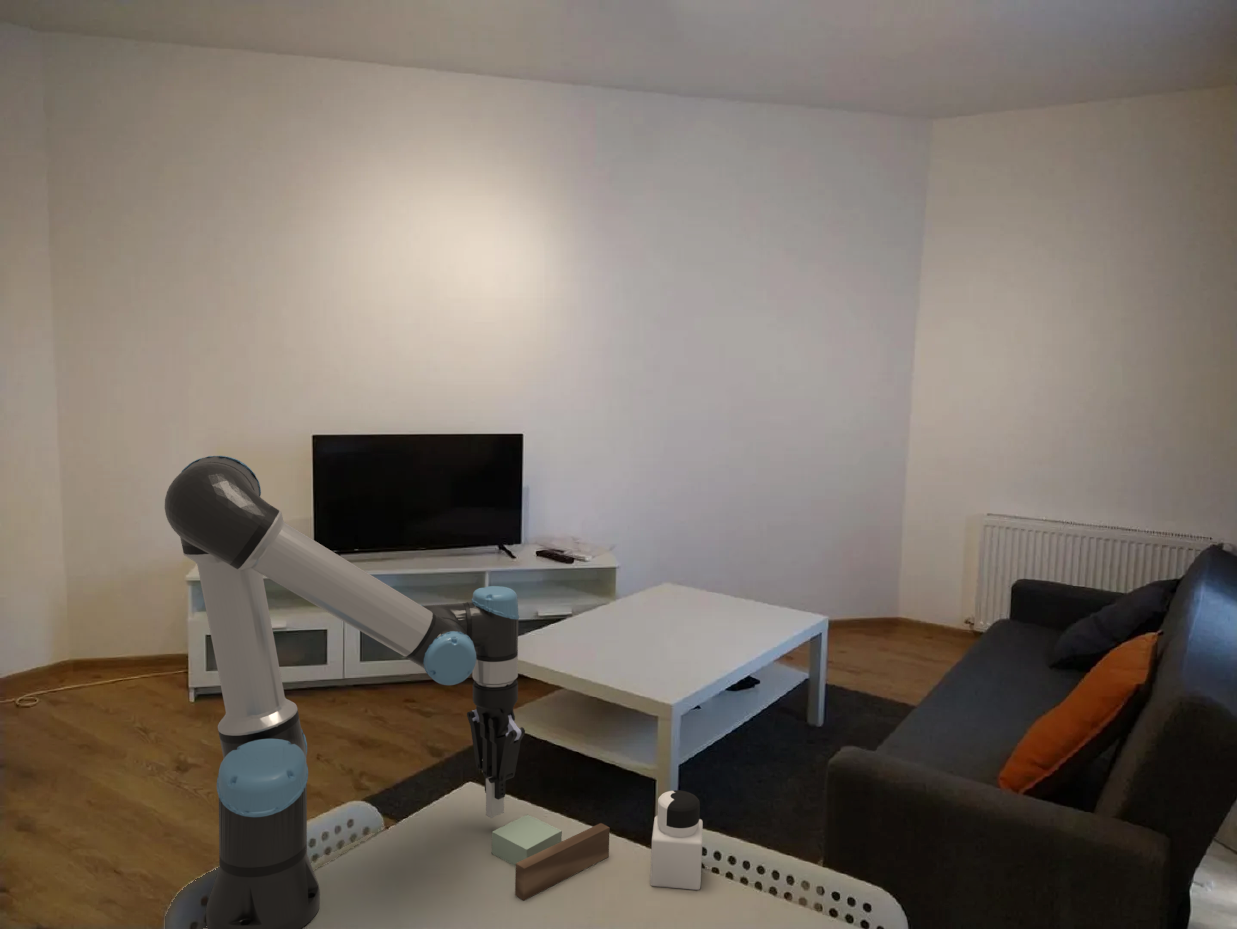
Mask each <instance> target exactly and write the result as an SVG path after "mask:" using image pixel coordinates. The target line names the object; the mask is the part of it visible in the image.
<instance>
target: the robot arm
mask: <svg viewBox="0 0 1237 929" xmlns="http://www.w3.org/2000/svg"><path fill="white" fill-rule="evenodd" d="M261 495H262V489H261V484H260V481H259V479H258V477H257V476H256V473H255V472H253V470H252V469H251V467H249V466H248V465H247V464H246V463H245V462H243V461H240V460H239V459H236V458H234V457H230V456H226V455H208V456H206V457H205V456H204V457H200V458H197V459H196V460H194V461H191V462H190V463H189V464H188V465H186V466H185V467H184V468H183V469H182V470H181V471H180V473H179V474H178V475H177V476H176V477H175V478H174V479H173V480H172V482H171V484H170V485H169V486H168V489H167V491H166V494H165V498H164V511H165V512H164V513H165V516H166V520H167V522H168V524H169V525H170V527H171V529H172V530H173V531H174V533H176V534H177V535H178V536H179V538H180V544H181V547H182V552H183V555H184V556H185V557H186V558H188V559H189V560H192V561H193V562H195V564H196V565H197V566H196V567H197V571H198V576H199V581H200V586H201V592H202V596H203V602H204V607H205V610H206V616H207V622H208V627H209V634H210V638H211V642H212V643H211V644H212V647H213V653H214V658H215V663H216V668H217V673H218V678H219V684H220V688H221V693H222V699H223V705H224V710H225V714H224V716H223V717H222V718H221V719H220V721H219V723H218V725H217V732H218V737H219V741H220V746H221V747H220V748H221V751H222V757H223V758H222V759H223V760H222V761H221V762H220V765H219V769H218V775H217V779H216V792H217V795H218V796H217V797H218V837H219V838H218V848H219V849H218V850H219V852H218V855H219V857H218V858H219V859H218V860H219V861H218V862H219V866H218V871H217V873H216V877H215V879H214V883H213V885H212V888H211V891H210V895H209V898H208V901H207V904H206V910H205V912H206V915H205V918H206V920H205V922H206V924H205V925H206V929H302V928H304V927H305V926H306V925H307V924H308V923H310V922H311V921H312V920H313V919H314V918H315V916H316V915H317V913H318V912H319V909H320V904H321V902H320V899H321V898H320V896H321V894H320V893H321V890H320V885H319V882H318V879H317V877H316V874H315V871H314V869H313V866H312V864H311V861H310V858H309V855H308V851H307V850H308V842H307V841H308V811H307V810H308V806H307V805H308V803H307V802H308V800H307V799H308V792H307V791H308V790H307V789H308V784H307V783H308V779H309V766H308V763H307V756H308V742H307V737H306V735H305V733H304V732H303V730H304V729H302V726H301V719H300V714H299V709H298V706H297V704H296V703H295V702H293V701H292V700H290V699H287V698H286V696H285V690H284V685H283V681H282V676H281V670H280V664H279V658H278V654H277V647H276V640H275V636H274V631H273V626H272V620H271V615H270V614H271V613H270V609H269V604H268V599H267V598H268V597H267V593H266V588H265V586H266V585H265V582H264V576H265V577H266V578H267V579H269V580H270V581H272V582H274V583H276V584H278V585H280V586H281V587H283V588H285V589H287V590H288V591H290V592H291V593H294V594H295V595H297V596H299V598H300V597H301V598H302V599H303V600H306V601H308V603H311V604H312V605H314V606H316V607H317V608H320V609H321V610H323V611H324V612H327V613H328V614H330V615H332V616H334V617H335V618H337V619H338V620H341V621H342V622H344V623H346V624H347V625H349V626H351V627H353V628H354V629H356V630H358V631H359V632H361V633H362V634H365V635H366V636H368V637H370V638H372V639H373V640H375V641H377V642H379V643H380V644H382V645H384V646H386V647H387V648H389V649H391V650H393V651H394V652H396V653H398V654H400V655H401V656H403V657H405V658H406V659H408V660H409V661H411V662H412V663H414V664H415V665H418V667H419V666H420V667H421V668H423V669H424V671H425V673H426V674H427V675H428V677H430V678H431V679H432V680H433V681H434V682H436V683H438V684H439V685H443V686H454V685H458V684H460V683H462V682H464V681H465V680H467V679H468V678H469V677H470V675H472V679H473V680H474V681H473V683H472V702H473V704H474V705H475V709H474V710H473V709H472V710H471V711H467V712H466V717H467V719H468V723H469V726H470V731H471V733H470V734H471V739H472V740H471V741H472V745H473V746H472V747H473V752H474V753H473V754H474V761H475V766H476V767H475V768H476V769H477V770H478V771H479V770H481V771H482V775H483V777H484V793H485V816H487V817H489V818H490V819H493V818H495V817H497V816H500V815H501V814H504V813H505V797H506V781H507V780H510V779H512V778H514V777H515V774H516V770H517V765H518V764H517V763H518V758H519V753H520V747H521V742H522V739H523V737H524V736H525V734H526V730H525V728H524V727H522V726H521V727H518V725H517V723H516V722H515V720H516V715H515V712H514V707H515V705H516V703H517V702H518V701H519V700H518V699H519V698H518V697H519V681H518V679H517V678H518V677H519V674H518V673H519V669H518V668H519V667H518V666H519V663H518V662H519V658H518V656H519V651H518V650H519V647H518V645H519V619H520V616H519V603H518V602H519V601H518V594H517V593H516V592H515V590H514V589H512V588H510V587H506V586H502V585H501V586H498V585H492V586H491V585H490V586H485V587H479V588H476V589H475V590H474V591H473V593H472V598H471V601H467V602H461V603H459V602H458V603H442V604H425V605H424V604H420V603H418V602H416V601H415V600H413V599H411V598H409V597H408V596H406V595H405V594H403V593H401V592H400V591H398V590H397V589H395V588H393V587H392V586H390V585H389V584H387V583H385V582H383V581H382V580H380V579H379V578H377V577H375V576H373V575H371V574H370V573H368V572H367V571H365V570H363V569H362V568H360V567H358V566H357V565H356V564H354V563H352V562H351V561H349V560H347V559H346V558H343V557H342V556H341V555H339V554H338V553H335V552H334V551H332V550H330V549H329V548H327V547H325V546H324V545H323V544H320V543H319V541H318V542H317V541H316V540H314V539H312V538H311V537H310V536H307V535H306V534H304V533H303V532H301V531H299V530H297V529H296V528H295V527H292V526H291V525H290V524H288V523H286V522H285V521H284V517H283V514H282V510H279V509H278V508H276V507H275V506H272V505H271V504H270V503H268V502H267V501H266V500H264V498H262V496H261Z"/></svg>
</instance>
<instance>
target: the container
mask: <svg viewBox="0 0 1237 929" xmlns="http://www.w3.org/2000/svg"><path fill="white" fill-rule="evenodd" d="M700 803H701V801H700V800H699V798H698V797H697V796H696V794H693V793H691V792H689V791H685V790H680V789H677V790H668V791H665V792H663V793H662V794H661V795H660V796H659V797H658V799H657V814H656V816H654V821H653V827H652V834H651V851H650V852H651V854H650V855H651V856H650V875H649V876H650V880H649V882H650V883H649V884H650V885H651V886H652V887H657V888H658V887H661V888H672V889H683V890H694V891H695V890H696V891H698V890H700V889H701V885H702V884H701V883H702V882H701V880H702V859H703V858H702V857H703V827H704V826H703V824H704V823H703V819H701V818H700V812H701V810H700V805H701V804H700Z"/></svg>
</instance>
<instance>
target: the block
mask: <svg viewBox="0 0 1237 929" xmlns="http://www.w3.org/2000/svg"><path fill="white" fill-rule="evenodd" d="M562 832H563V831H562V829H559V828H557V827H555V826H553V825H550V824H549V823H547V822H545V821H543V820H540V819H538V818H536V817H534V816H532V815H530V814H528V813H527V814H525V815H523V816H522V817H519V818H517V819H515V820H512V821H511V822H509V823H507V824H504V825H503V826H501V827H499V828H497V829H495V830H493V831H491V854H492V855H494V856H496V857H498V858H499V859H502V860H503V861H505V862H507V863H509V864H511V865H512V866H514V867H516V863H517V862H520V861H522V860H524V859H526V858H528V857H530V856H532V855H534V854H536V853H539V852H541V851H543V850H545V849H547V848H549V847H551V846H553V845H555V844H558V843H560V842H562V841H563V840H562V834H563V833H562Z"/></svg>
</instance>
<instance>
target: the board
mask: <svg viewBox="0 0 1237 929" xmlns="http://www.w3.org/2000/svg"><path fill="white" fill-rule="evenodd" d="M610 831H611V830H610V827H609V826H608V825H606V824H604V823H602V822H600V823H597V824H596V825H594V826H592V827H590V828H588V829H585V830H583V831H581V832H578V833H577V834H574V835H572V836H571V837H569V838H566V839H565V840H562V842H560V843H558V844H555V845H553V846H551V847H549V848H547V849H545V850H543V851H541V852H539V853H536V854H534V855H532V856H530V857H528V858H526V859H524V860H522V861H520V862H517V863H516V866H515V878H514V879H515V882H514V884H515V885H514V886H515V887H514V895H515V896H516V897H517V898H518V899H521V901H525V900H528V899H529V898H532V897H533V896H535V895H538V894H539V893H541V892H543V891H545V890H547V889H549V888H551V887H553V886H554V885H557V884H559V883H561V882H562V881H565V880H566V879H568V878H570V877H572V876H575V875H576V874H578V873H580V872H582V871H584V870H585V869H587V868H590V867H592V866H593V865H594V866H595V864H597V863H599V862H602V861H603V860H605V859H607V858H609V857H610V856H609V855H610Z"/></svg>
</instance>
